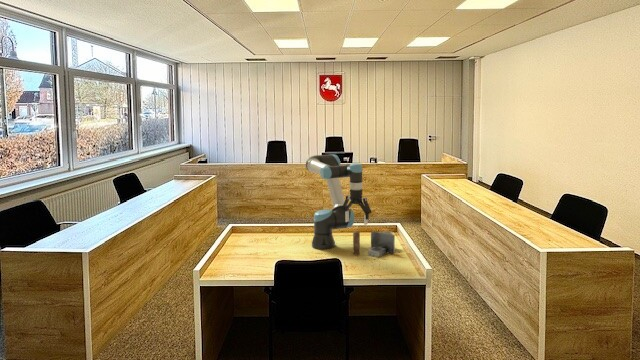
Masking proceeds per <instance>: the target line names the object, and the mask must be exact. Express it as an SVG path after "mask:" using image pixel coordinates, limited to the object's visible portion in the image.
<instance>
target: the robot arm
mask: <svg viewBox="0 0 640 360" xmlns="http://www.w3.org/2000/svg"><path fill="white" fill-rule="evenodd" d="M305 168H306V170H307V171H308V172H310V173H311V174H312V173H313V174H315V173H316V174H317V175H318V174H319V175H320V177H321V179H323V180H325V181H326V184H327V189H328V191H329V192H328V193H329V196H330V201H331V204H332V208H331V209H329V208H328V209H319V210H317V211H316V212H314V214H313V227H314V229H313V230H314V231H313V232H314V234H313V238H312V241H311V247H312V248H313V249H317V250H330V249H332V248H335V247H336V241H335V239H334V236H333V231H334V230H339V229H340V230H341V229H348V228H349V229H350V228H352V227H353V225H354V223H355V213H354V212H355V211H354V210H353V209H350V208H351V207H352V205H358V206H359V207H360V208H361V210H362V211H363V212H364V214H363V224H364V226H366V225H368V223H369V222H368V220H369V216H370V214H372V210H371V207H370V205H369V201H368V198H367V197H363V165H362V163H359V162H354V163H345V164H344V165H343V164H342V165H341V160H340V158H339V156H338V155H337V154H332V153H329V154H318V155H312V156H310V157H309V158H307V160H306V162H305ZM341 178H349V195H346V196H345V197H344V193H343V189H342V185H341V181H340V179H341Z"/></svg>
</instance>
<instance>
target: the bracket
mask: <svg viewBox="0 0 640 360" xmlns="http://www.w3.org/2000/svg"><path fill="white" fill-rule="evenodd" d="M395 245H396V244H395V234H387V233H382V232H381V231H374V230H370V248H368V249H367V255H368V256H369V257H376V258H381V257H382V256H384V255H386V253H387V254H390V255H394V254H395V252H396V251H395Z"/></svg>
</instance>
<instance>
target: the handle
mask: <svg viewBox="0 0 640 360" xmlns="http://www.w3.org/2000/svg"><path fill="white" fill-rule="evenodd" d="M360 233H361V232H360V231H353V232H352V234H353V235H352V246H353V247H352V252H353V253H352V255H355V256H360V255H361V254H360V253H361V252H360V251H361V245H360V244H361V241H360V239H361V238H360V237H361V235H360Z"/></svg>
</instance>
